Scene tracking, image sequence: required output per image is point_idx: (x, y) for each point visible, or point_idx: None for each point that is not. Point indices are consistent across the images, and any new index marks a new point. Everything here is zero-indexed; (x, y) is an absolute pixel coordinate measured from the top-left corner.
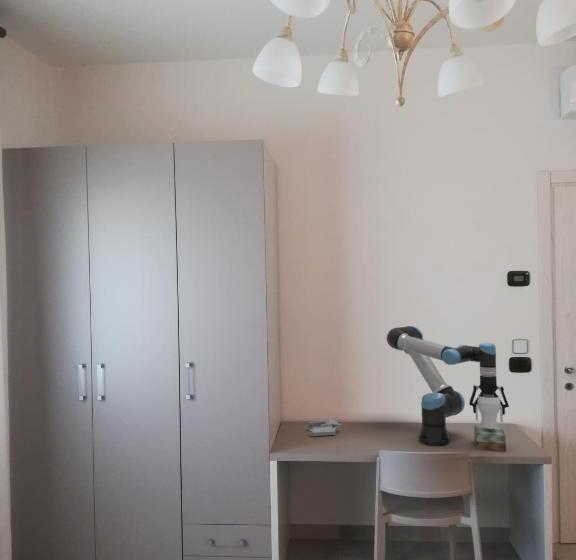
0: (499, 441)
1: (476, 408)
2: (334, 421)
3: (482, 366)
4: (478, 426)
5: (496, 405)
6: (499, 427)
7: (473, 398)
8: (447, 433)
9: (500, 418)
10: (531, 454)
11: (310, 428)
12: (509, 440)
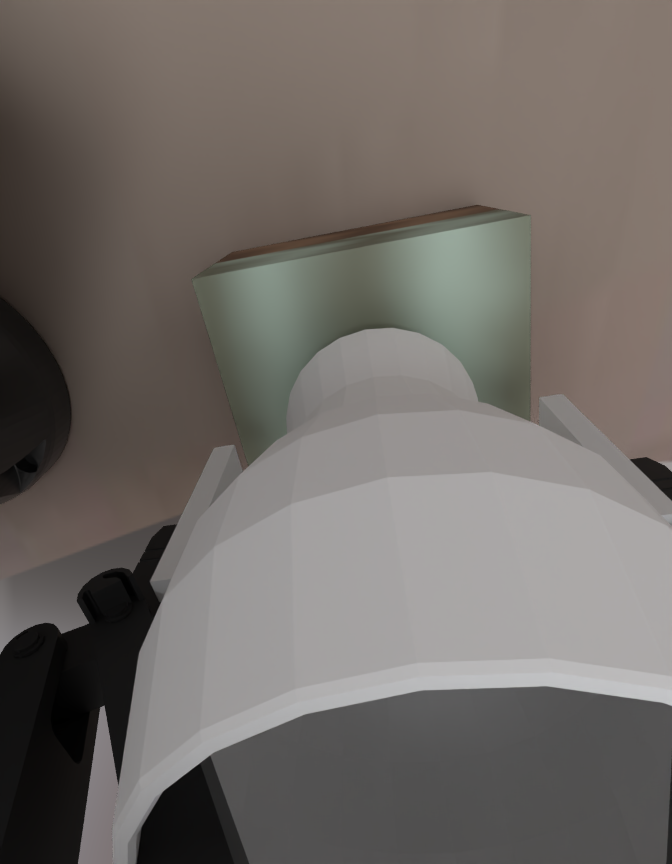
0: None
1: None
2: None
3: None
4: (248, 310)
5: (573, 778)
6: (495, 253)
7: (66, 857)
8: (8, 430)
9: (551, 430)
10: (665, 416)
11: None
12: (557, 65)
